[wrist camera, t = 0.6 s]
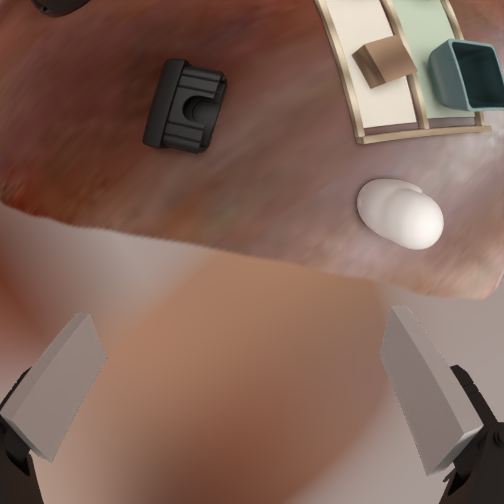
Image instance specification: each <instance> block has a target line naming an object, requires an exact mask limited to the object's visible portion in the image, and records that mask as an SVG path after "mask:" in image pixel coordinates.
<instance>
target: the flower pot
mask: <svg viewBox="0 0 504 504" xmlns="http://www.w3.org/2000/svg"><path fill="white" fill-rule="evenodd" d="M428 70H429V73H430V76H431V79H432V83H433V86H434V90H435V94H436V97H437V99H438V101H439V102H440V103H441V104H442V105H443V106H445V107H447V108H449V109H454V110H462V111H470V112H476V111H491V110H492V111H493V110H504V77H503V74H502V71H501V67H500V64H499V60H498V57H497V54H496V51H495V49H494V47H493V45H491V44H486V43H480V42H473V41H466V40H459V39H448V40H447V41H445V42H444V43H442V44H441V45H439V46H438V47H437V48H435V49H434V50H433V51H432V52H431V54H430V55H429V59H428Z"/></svg>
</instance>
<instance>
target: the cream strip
mask: <svg viewBox="0 0 504 504" xmlns="http://www.w3.org/2000/svg"><path fill="white" fill-rule="evenodd" d="M324 1H325V3H326V6H327V8H328V11H329V13H330V16H331V19H332V21H333V24H334V27H335V29H336V32H337V35H338V38H339V41H340V44H341V47H342V50H343V53H344V57H345V60H346V63H347V66H348V70H349V73H350V77H351V80H352V84H353V88H354V91H355V95H356V99H357V103H358V107H359V111H360V116H361V120H362V125H363V128H368V127H375V126H383V125H392V124H402V123H412V122H416V118H415V113H414V109H413V104H412V100H411V96H410V91H409V87H408V83H407V80H406V76H404V77H401V78H398V79H395V80H393V81H390V82H387V83H385V84H382V85H379V86H377V87H374V88H372V89H370V87H369V85H368V83H367V81H366V80H365V78H364V76H363V74H362V72H361V71H360V69H359V67H358V65H357V64H356V62H355V60H354V59H353V57H352V54H353V53H354V52H356V51H357V50H358V49H359V48H360V47H362V46H363V45H364V44H367V43H370V42H373V41H376V40H379V39H383V38H386V37H390V36H393V34H392V32H391V29H390V26H389V23H388V21H387V18H386V16H385V13H384V11H383V8H382V6H381V4H380V1H379V0H324Z"/></svg>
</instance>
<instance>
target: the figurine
mask: <svg viewBox="0 0 504 504" xmlns="http://www.w3.org/2000/svg"><path fill="white" fill-rule="evenodd" d="M357 208H358V212H359V214H360V216H361V218H362V220H363V221H364V222H365V224H366V225H367V226H368V227H369V228H370V229H371V230H373V231H374V232H375V233H377V234H379V235H380V236H382V237H384V238H387V239H389V240H392V241H393V242H395V243H397V244H399V245H401V246H404V247H406V248H410V249H425V248H428V247H430V246H431V245H433V244H434V243H435V242H436V241H437V240H438V239H439V237H440V235H441V233H442V230H443V216H442V212H441V210H440V208H439V206H438V205H437V203H436V202H435V201H434V200H433V199H431V198H430V197H428V196H427V195H425V194H423V193H422V190H421V189H420V188H419V187H417V186H416V185H413V184H411V183H409V182H406V181H402V180H396V179H376V180H372V181H370V182H368V183H367V184H365V185H364V186H363V187H362V189H361V190H360V192H359V194H358V197H357Z"/></svg>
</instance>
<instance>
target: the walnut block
mask: <svg viewBox="0 0 504 504" xmlns="http://www.w3.org/2000/svg"><path fill="white" fill-rule="evenodd" d="M352 57H353V59H354V60H355V62H356V64H357V65H358V67H359V69H360V71H361V72H362V74H363V76H364V78H365V80H366V81H367V83H368V85H369V87H370V89H372V88H374V87H377V86H379V85H382V84H385V83H387V82H390V81H393V80H395V79H398V78H401V77H404V76H406V75H409V74H412V73H415V72H418V70H417V68H416V66H415V64H414V63H413V61H412V59H411V57H410V55H409V53H408V52H407V50H406V48H405V46H404V45H403V43H402V41H401V39H400V38H399V36H398V34H397V35H393V36H390V37H386V38H383V39H379V40H376V41H373V42H370V43H367V44H364V45H363V46H362V47H360V48H359V49H358V50H357V51H356V52H354V53H353V54H352Z"/></svg>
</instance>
